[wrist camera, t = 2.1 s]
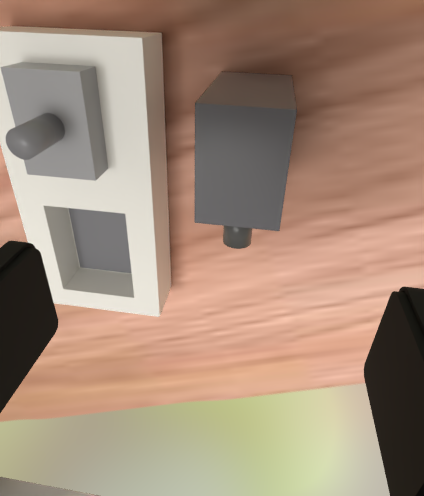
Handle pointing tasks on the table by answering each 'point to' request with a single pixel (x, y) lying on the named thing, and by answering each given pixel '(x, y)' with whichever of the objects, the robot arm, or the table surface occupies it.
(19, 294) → the robot arm
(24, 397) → the table surface
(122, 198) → the power strip
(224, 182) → the plug
